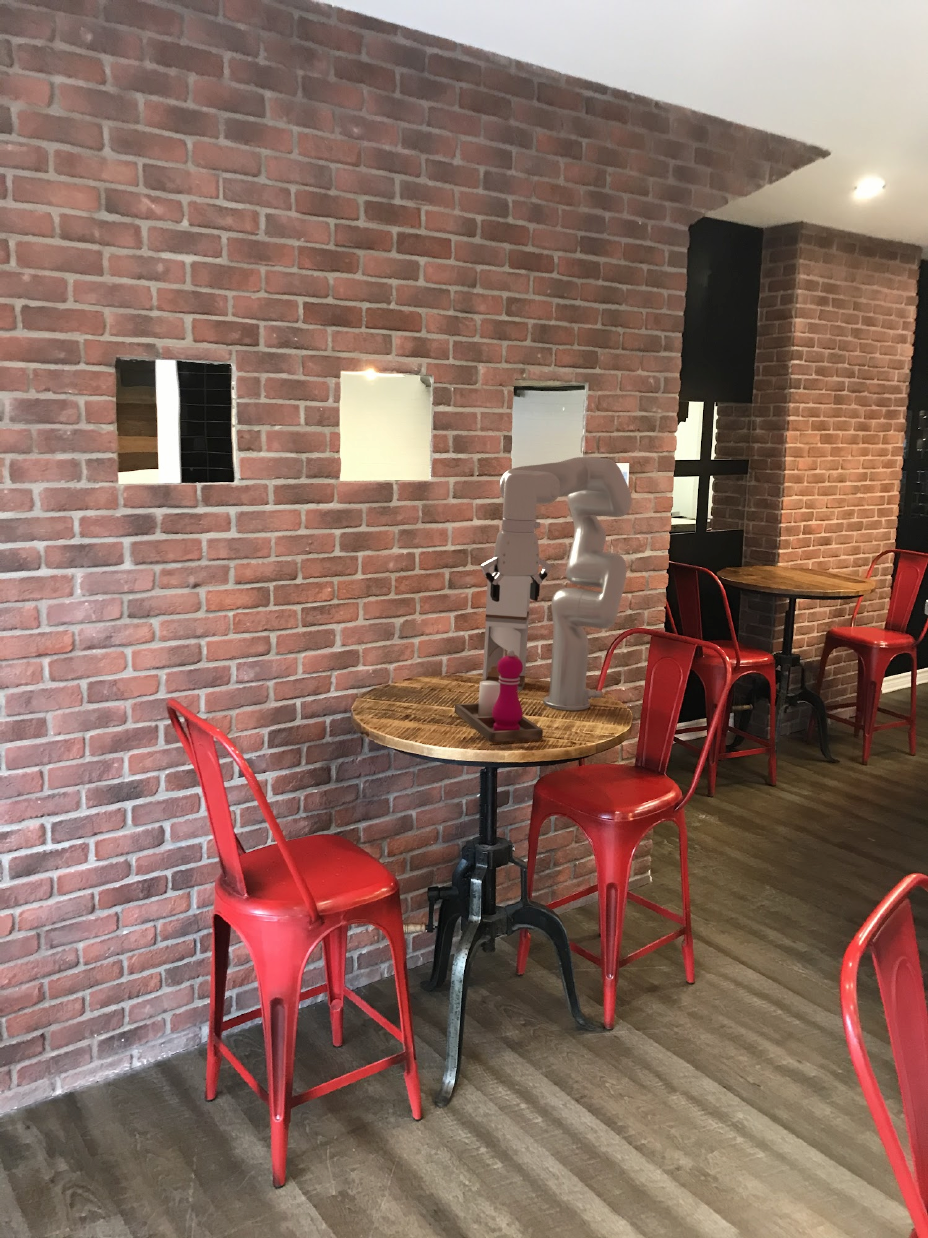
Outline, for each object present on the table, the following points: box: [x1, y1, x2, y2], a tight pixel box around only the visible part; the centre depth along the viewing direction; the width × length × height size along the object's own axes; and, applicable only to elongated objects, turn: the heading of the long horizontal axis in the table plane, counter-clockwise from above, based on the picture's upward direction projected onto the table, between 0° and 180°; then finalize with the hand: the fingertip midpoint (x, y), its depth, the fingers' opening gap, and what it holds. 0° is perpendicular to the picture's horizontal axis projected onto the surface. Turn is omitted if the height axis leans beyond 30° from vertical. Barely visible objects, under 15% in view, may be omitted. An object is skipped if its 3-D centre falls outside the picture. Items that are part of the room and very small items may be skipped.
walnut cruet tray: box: [454, 702, 544, 746], centre depth 239 cm, size 13×25×3 cm, turn 20°
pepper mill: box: [492, 650, 524, 731], centre depth 232 cm, size 7×7×20 cm
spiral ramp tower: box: [482, 566, 532, 692], centre depth 280 cm, size 11×11×35 cm
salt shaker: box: [478, 680, 500, 717], centre depth 244 cm, size 5×5×9 cm
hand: (514, 600), depth 228 cm, fingers open, 9 cm apart
